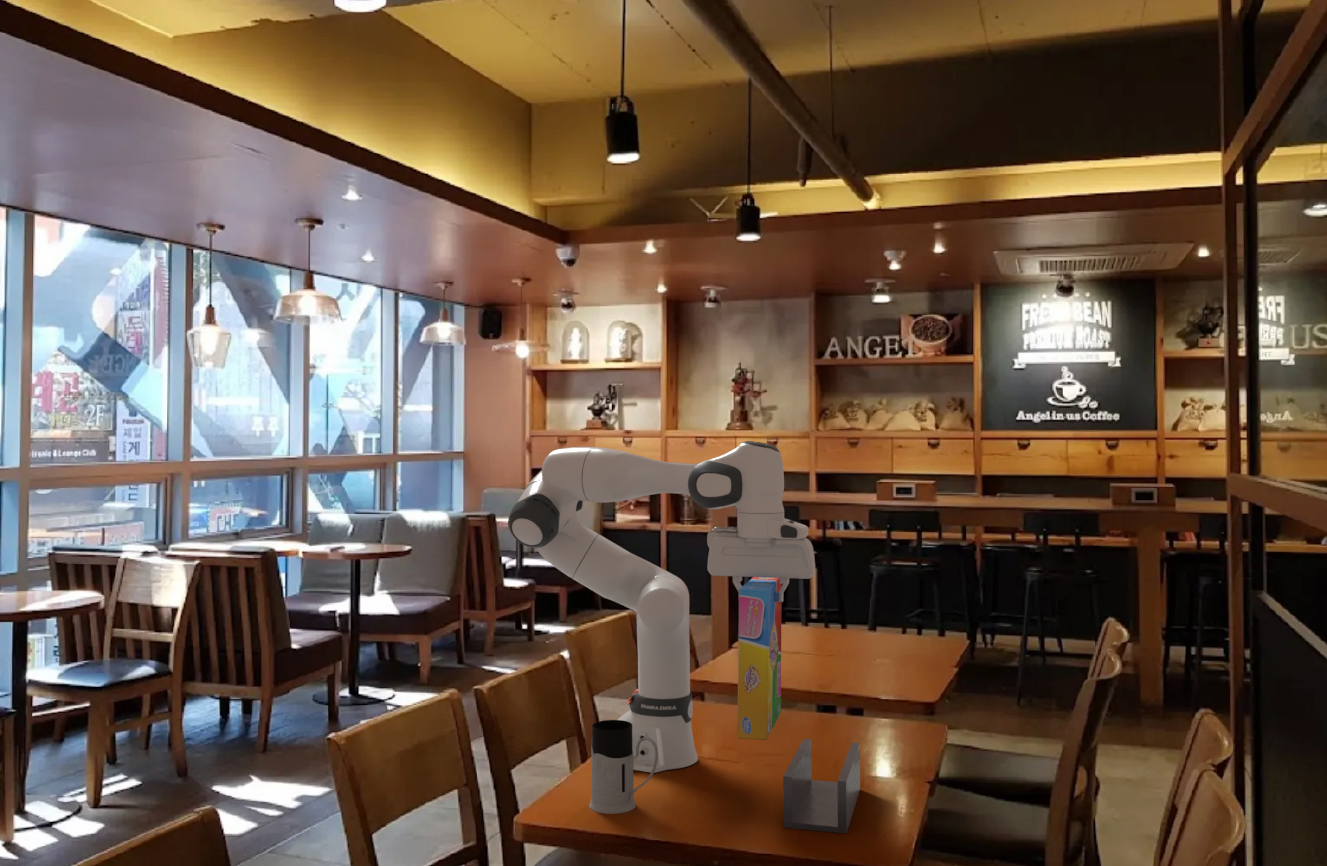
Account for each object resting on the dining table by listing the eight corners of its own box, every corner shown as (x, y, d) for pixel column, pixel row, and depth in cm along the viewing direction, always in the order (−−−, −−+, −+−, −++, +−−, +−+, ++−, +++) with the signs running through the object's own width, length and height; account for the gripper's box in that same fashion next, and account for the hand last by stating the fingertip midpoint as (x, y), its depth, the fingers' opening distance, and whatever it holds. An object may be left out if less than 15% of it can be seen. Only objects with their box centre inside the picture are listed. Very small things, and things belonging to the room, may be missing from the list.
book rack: (783, 827, 185) (783, 776, 185) (803, 784, 208) (803, 738, 208) (846, 833, 182) (846, 781, 182) (860, 789, 205) (859, 742, 205)
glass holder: (606, 794, 203) (605, 716, 203) (669, 807, 195) (669, 726, 196) (579, 808, 195) (579, 727, 195) (644, 822, 188) (644, 738, 188)
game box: (767, 741, 188) (768, 589, 188) (736, 739, 189) (737, 588, 189) (781, 712, 208) (782, 574, 208) (753, 710, 209) (754, 573, 209)
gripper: (703, 527, 198) (703, 601, 198) (811, 529, 193) (811, 605, 193) (711, 524, 205) (711, 596, 204) (816, 527, 199) (816, 600, 199)
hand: (761, 600), depth 199 cm, fingers closed on game box, 5 cm apart
